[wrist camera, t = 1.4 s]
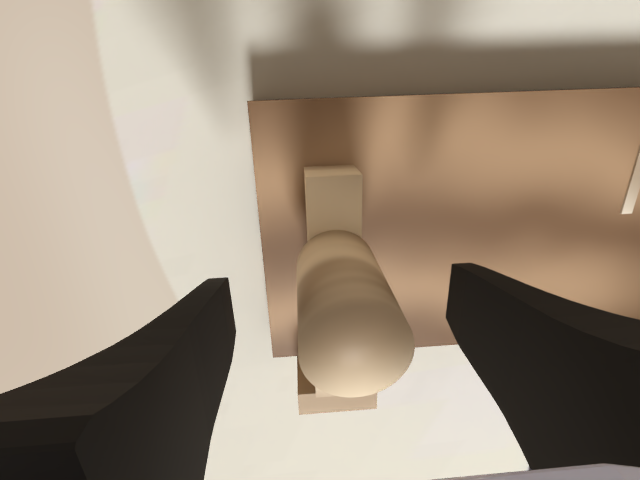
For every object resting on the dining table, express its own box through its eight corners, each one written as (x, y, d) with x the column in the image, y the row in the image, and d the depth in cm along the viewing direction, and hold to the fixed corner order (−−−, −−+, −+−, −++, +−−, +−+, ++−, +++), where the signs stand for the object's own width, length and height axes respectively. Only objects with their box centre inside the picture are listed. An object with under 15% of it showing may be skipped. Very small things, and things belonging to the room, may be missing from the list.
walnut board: (620, 309, 21) (653, 331, 19) (275, 333, 20) (272, 358, 18) (693, 85, 16) (747, 83, 14) (252, 100, 15) (247, 101, 13)
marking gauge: (362, 357, 20) (408, 529, 12) (298, 362, 20) (301, 540, 12) (366, 157, 16) (438, 218, 8) (284, 161, 16) (275, 227, 8)
